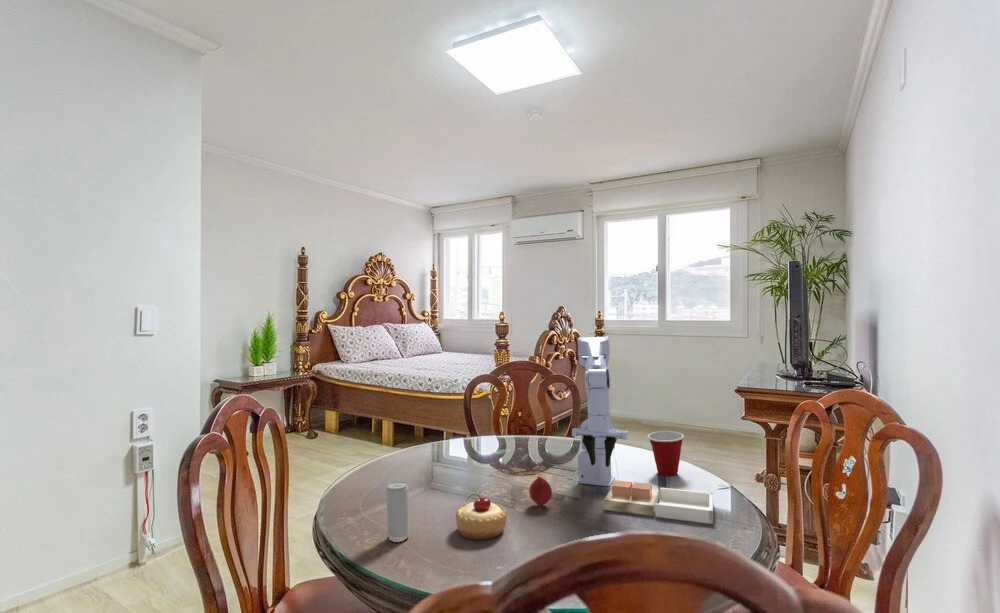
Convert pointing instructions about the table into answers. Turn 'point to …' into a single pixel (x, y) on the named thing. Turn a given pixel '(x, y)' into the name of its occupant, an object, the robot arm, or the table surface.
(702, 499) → the tray
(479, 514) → the pastry
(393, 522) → the beverage can
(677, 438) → the plastic cup
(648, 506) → the board
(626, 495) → the tile
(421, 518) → the table surface
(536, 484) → the onion
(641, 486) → the tile
